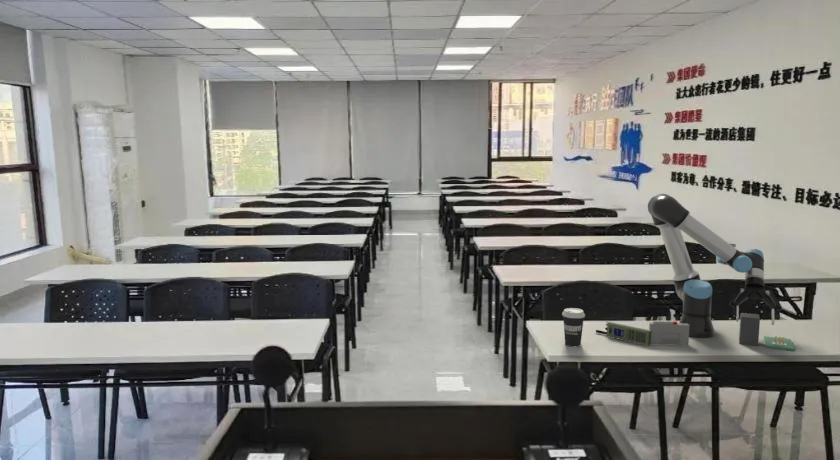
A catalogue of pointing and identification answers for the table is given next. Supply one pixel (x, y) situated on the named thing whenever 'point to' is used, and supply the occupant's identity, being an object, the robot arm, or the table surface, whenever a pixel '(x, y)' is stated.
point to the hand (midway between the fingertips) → (755, 321)
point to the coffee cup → (573, 326)
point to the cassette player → (669, 333)
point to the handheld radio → (627, 333)
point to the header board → (778, 343)
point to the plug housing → (749, 329)
